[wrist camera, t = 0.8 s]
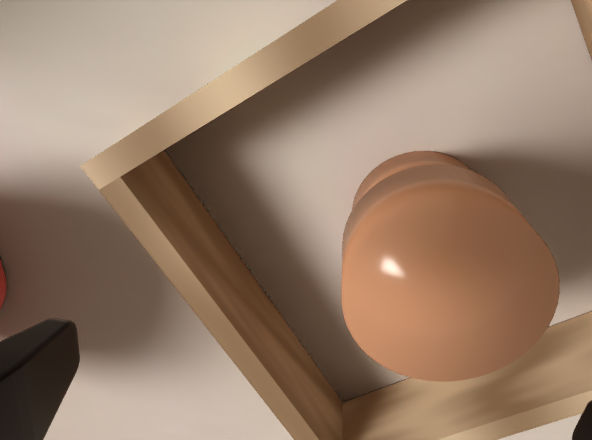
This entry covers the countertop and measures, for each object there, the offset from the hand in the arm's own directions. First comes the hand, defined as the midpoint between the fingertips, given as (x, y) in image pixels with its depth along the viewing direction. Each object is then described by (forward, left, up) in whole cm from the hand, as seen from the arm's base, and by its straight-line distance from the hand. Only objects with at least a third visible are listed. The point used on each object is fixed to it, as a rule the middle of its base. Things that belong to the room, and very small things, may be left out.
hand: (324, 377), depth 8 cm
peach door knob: (-2, +4, -13) cm, 13 cm away
